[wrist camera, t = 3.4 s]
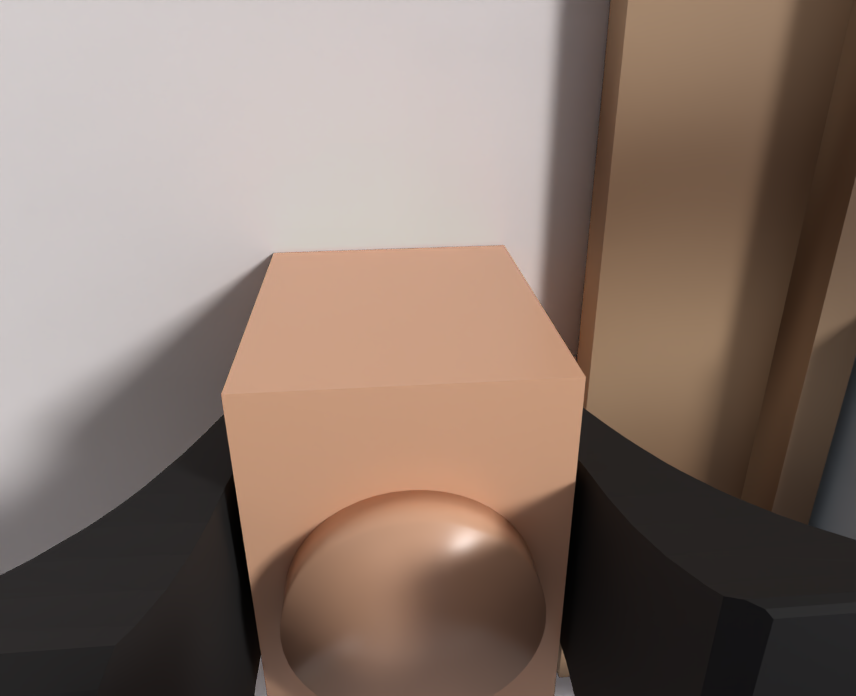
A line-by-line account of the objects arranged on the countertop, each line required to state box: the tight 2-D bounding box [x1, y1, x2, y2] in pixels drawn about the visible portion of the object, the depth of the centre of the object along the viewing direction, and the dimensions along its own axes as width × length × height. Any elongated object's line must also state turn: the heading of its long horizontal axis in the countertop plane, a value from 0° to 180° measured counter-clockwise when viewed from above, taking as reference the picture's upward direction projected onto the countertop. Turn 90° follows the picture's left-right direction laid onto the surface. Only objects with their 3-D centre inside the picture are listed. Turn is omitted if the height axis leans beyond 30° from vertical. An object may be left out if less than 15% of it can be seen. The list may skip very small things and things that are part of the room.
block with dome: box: [221, 245, 586, 696], centre depth 11 cm, size 6×4×6 cm, turn 1°
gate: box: [808, 357, 856, 540], centre depth 13 cm, size 9×8×3 cm
